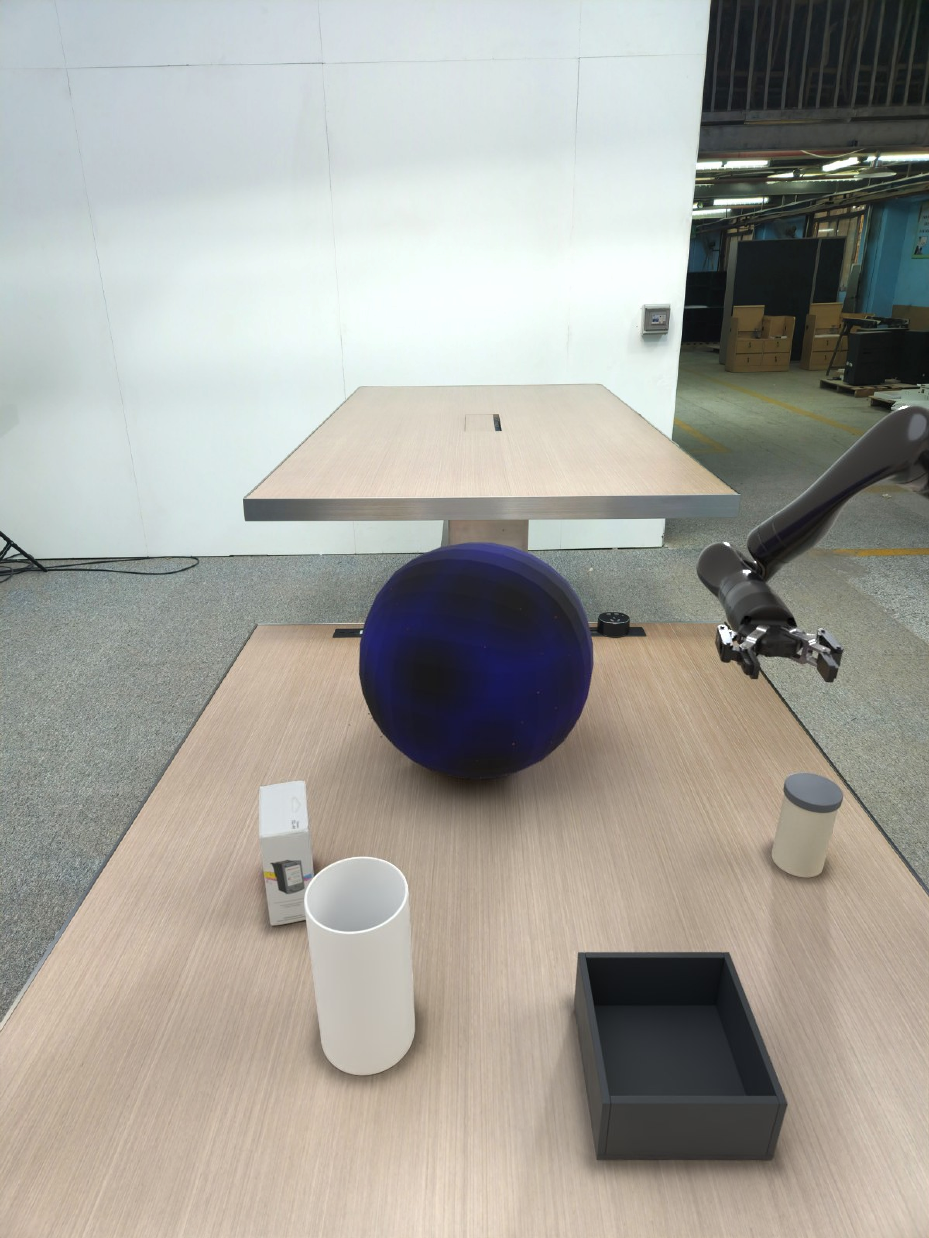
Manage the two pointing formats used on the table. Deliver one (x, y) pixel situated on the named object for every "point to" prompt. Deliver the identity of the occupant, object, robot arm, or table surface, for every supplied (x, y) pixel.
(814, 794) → the container
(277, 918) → the ink box
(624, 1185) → the table surface
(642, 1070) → the open storage box
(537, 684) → the ball
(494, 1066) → the table surface
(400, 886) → the cup
